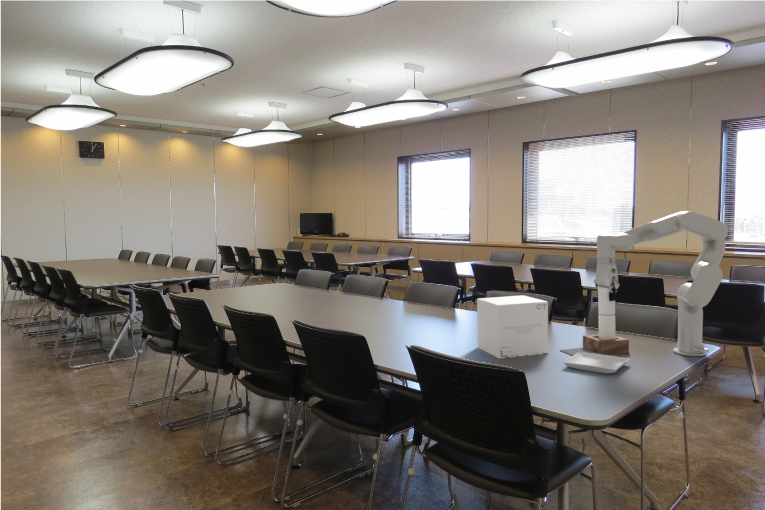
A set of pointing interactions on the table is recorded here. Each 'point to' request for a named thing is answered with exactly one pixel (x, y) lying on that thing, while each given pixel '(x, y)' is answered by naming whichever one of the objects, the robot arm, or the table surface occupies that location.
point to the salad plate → (595, 362)
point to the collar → (605, 345)
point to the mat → (576, 351)
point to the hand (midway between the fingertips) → (606, 299)
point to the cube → (512, 326)
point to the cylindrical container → (606, 314)
